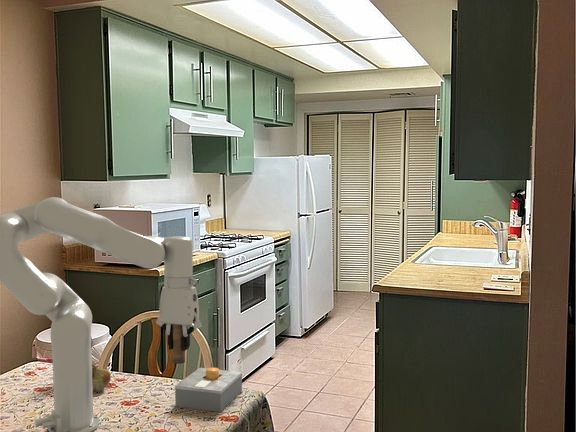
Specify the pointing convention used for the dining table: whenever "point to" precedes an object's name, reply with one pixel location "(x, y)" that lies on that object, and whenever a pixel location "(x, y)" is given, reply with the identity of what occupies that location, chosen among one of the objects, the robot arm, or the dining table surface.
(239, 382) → the box
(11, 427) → the dining table surface
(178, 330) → the brown rounded rod
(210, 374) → the button
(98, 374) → the onion
